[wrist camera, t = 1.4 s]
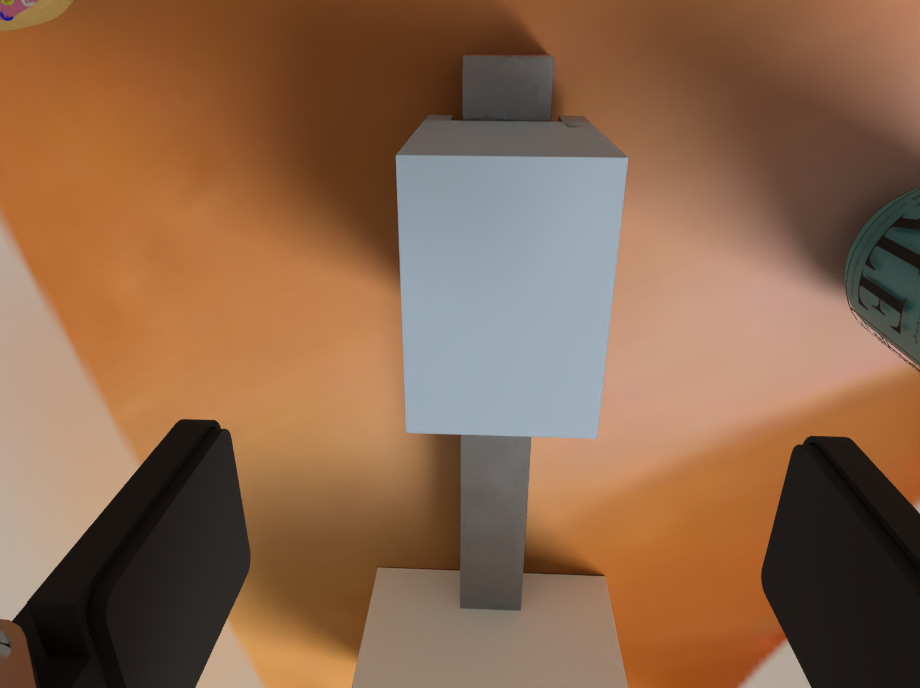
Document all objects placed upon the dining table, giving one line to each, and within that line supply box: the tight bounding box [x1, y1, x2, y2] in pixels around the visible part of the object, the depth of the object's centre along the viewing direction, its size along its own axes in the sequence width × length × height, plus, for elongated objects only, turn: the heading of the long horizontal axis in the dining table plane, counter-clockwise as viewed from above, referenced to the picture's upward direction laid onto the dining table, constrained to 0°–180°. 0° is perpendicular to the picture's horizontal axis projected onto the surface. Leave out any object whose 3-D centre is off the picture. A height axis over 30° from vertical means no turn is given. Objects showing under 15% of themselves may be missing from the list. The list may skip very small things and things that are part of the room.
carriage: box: [396, 115, 628, 439], centre depth 21 cm, size 8×6×9 cm
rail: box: [460, 54, 554, 611], centre depth 28 cm, size 25×3×2 cm, turn 0°
